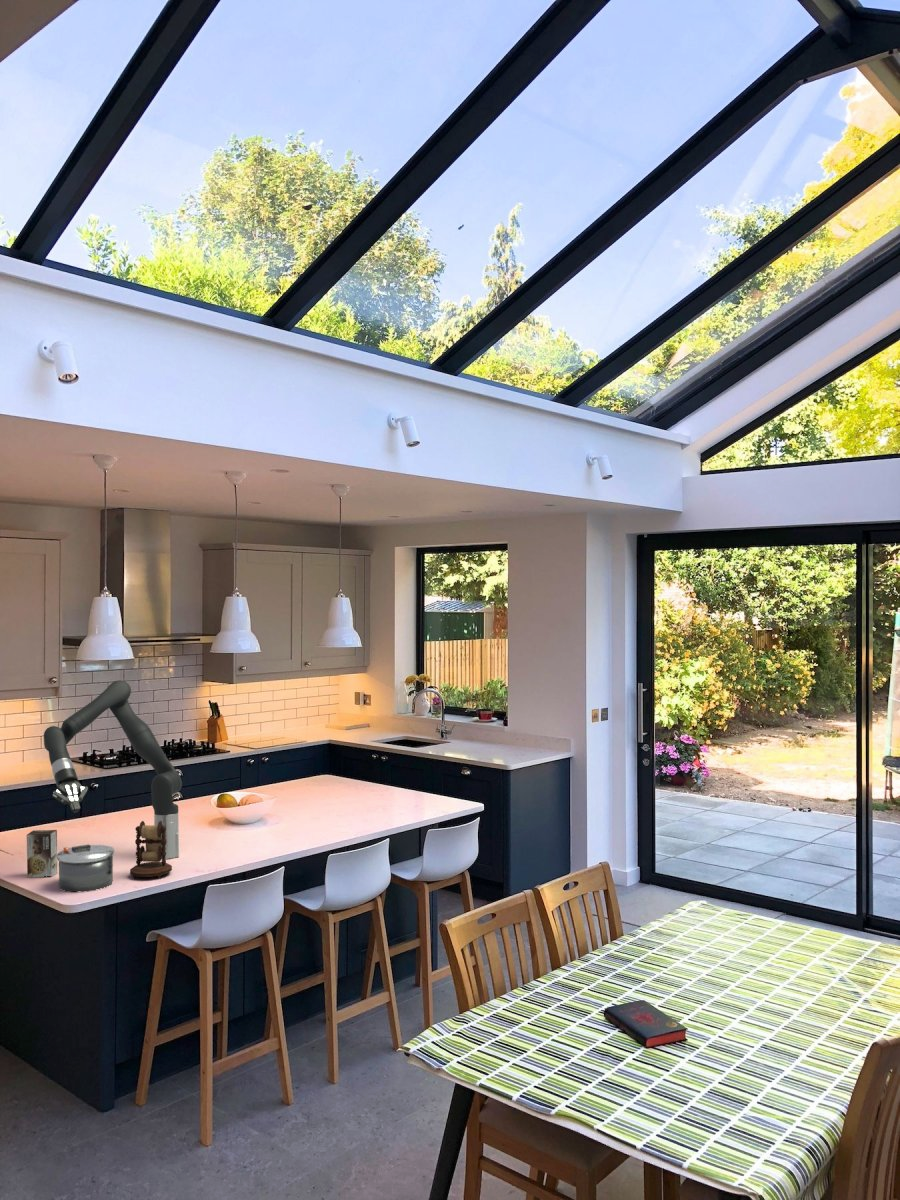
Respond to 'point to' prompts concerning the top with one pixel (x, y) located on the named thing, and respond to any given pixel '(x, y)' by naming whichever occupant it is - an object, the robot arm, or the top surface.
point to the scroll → (151, 851)
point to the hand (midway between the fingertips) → (76, 811)
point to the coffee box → (42, 853)
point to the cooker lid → (85, 853)
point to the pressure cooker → (85, 875)
